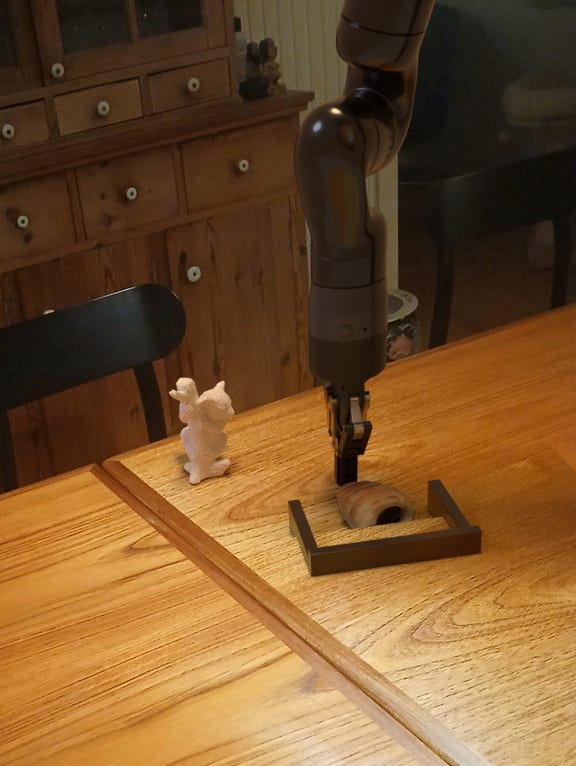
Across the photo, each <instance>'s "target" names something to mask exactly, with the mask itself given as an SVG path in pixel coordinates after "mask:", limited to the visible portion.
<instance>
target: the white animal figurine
mask: <svg viewBox="0 0 576 766" xmlns="http://www.w3.org/2000/svg"><path fill="white" fill-rule="evenodd" d="M225 384H226V383H225V380H222V381H219V382H217V384H216V385H215V386H214V387H213V388H212V389H209V390H208V389H207V390H206V391H204V392H203V393H202V394H201V395H199V393H198V389H197V385H196V381H195V380H193V379H192V378H190V377H180V378H178V380H177V381H176V382H175V386H176V389H177V390H174V389H171V391H169V392H168V394H169V396H171V397H172V398H173V399H174V400H177V401H179V402H180V403H179V414H178V419H179V420H180V421H181V423H183V424H187V426H185V427H184V428H182V430H181V431H180V435H179V437H180V440H181V443H182V445H183V449H184V451H185V452H186V454H187V457H188V458H189V460H190V461H187V462H185V463H184V465H183V468H184V471H186V472H187V473H189V479H188V481H189V484H191V485H197V484H200V482H201V481H202V480H205V479H207V478H208V479H209V478H214V477H221V476H223V475H224V473H225V471H226V470H227V469H228V468H229V467H230V466H231V463H232V462H231V460H230V458H229V457H227V458H223V459H221V460H217V458H218V457H219V456H220V455H221V453H223V452H224V450H225V449H226V447H227V444H228V440H229V439H228V438H229V437H228V435H227V433H225V432H224V430H225V427H226V420H230V419H232V418H233V417H234V416H235V414H236V412H235V410H234V408H233V407H232V400H231V397H230V396H229V394H228V393H227V392H226V391H225V387H226V386H225Z"/></svg>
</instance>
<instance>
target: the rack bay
mask: <svg viewBox="0 0 576 766" xmlns="http://www.w3.org/2000/svg"><path fill="white" fill-rule="evenodd" d="M426 507H427V509H428V511H429V512H430V513H431V515H432V517H433V518H434V519H436V518H441V517H442V518H443V519H444V521H445V523H446V524H447V526H448V527H449V528H447V529H440V530H433V531H425V532H418V533H412V534H405V535H397V536H391V537H390V536H389V537H382V538H376V539H367V540H361V541H355V542H348V543H339V544H334V545H333V544H332V545H326V546H318V544H317V541H316V539H315V536H314V534H313V531H312V529H311V526H310V523H309V520H308V519H307V518H308V517H307V516H306V513H305V511H304V507H303V506H302V503H301V500H300V499H292V500H288V501H287V510H288V527H289V529H290V532H291V534H292V537H293V538H297V540H298V544H299V546H300V548H301V549H300V550H301V551H302V555H303V557H304V560H305V562H306V566H307V568H308V571H309V574H310V577H319V576H327V575H333V574H334V575H335V574H341V573H347V572H348V573H349V572H355V571H356V572H357V571H363V570H368V569H377V568H384V567H391V566H398V565H407V564H414V563H420V562H421V563H422V562H428V561H435V560H443V559H448V558H450V559H451V558H456V557H463V556H464V557H465V556H471V555H478V554H481V552H482V551H481V549H482V538H483V537H482V536H483V530H482V529H481V528H480V526H479V525H478V524H475V525H472V524H471V523H470V522H469V521H468V519H467V517H466V516H465V514H464V513H463V512H462V510H461V508H460V507H459V506H458V504H457V502H456V501H455V500H454V499H453V497H452V496H451V494H450V492H449V491H448V490H447V488H446V487H445V485H444V483H443V482H442V481H441V479H440V478H435V479H429V480H427V495H426Z"/></svg>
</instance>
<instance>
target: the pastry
mask: <svg viewBox="0 0 576 766" xmlns="http://www.w3.org/2000/svg"><path fill="white" fill-rule="evenodd" d="M336 499H337V506H338V508H339V510H340V515H341V518H342V519H343V521H346V523H347V525H348V526H349V528H350V529H352V530H357V529H364V528H371V527H378V526H385V525H386V526H387V525H393V524H401V523H409V522H413V521H415V520H416V516H417V508H416V507H415V506H414V503H413V501H412V500H411V499H410V498H409V497H408V496H407V495H406V494H405V493H404V492H402V491H400V490H399V489H398V488H397V487H396V486H395V485H385V484H382V483H380V482H379V481H370V480H363V481H357V482H350V483H347V484H345V485H343V486H342V487H340V488H339V489H338V491H337V493H336Z"/></svg>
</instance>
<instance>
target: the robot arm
mask: <svg viewBox="0 0 576 766" xmlns="http://www.w3.org/2000/svg"><path fill="white" fill-rule="evenodd" d="M435 2H436V0H343V3H342V7H341V10H340V15H339V18H338V19H339V20H338V22H337V23H338V24H337V29H336V34H335V49H336V53H337V54H338V57H339V58H341V60H342V61H343V62H344V63H346V64H347V71H346V72H347V73H346V79H345V85H344V89H343V91H342V95H341V96H340V97H337V98H334V99H332V100H329V101H326V102H324V103H321V104H319V105H318V106H316V107H314V108H313V109H312V110H311V111H309V113H308V114H307V115H306V116H305V118H304V119H303V121H302V122H301V124H300V127H299V129H298V132H297V135H296V139H295V144H294V151H293V152H294V153H293V166H294V175H295V181H296V186H297V189H298V194H299V198H300V202H301V205H302V206H301V207H302V210H303V215H304V218H305V221H306V225H307V228H308V231H309V235H310V283H309V284H310V286H309V295H308V304H307V305H308V306H307V313H308V314H307V317H308V319H307V321H308V322H307V323H308V327H307V328H308V331H307V332H308V370H309V373H310V374H311V375H312V376H313V377H314V378H316V379H317V380H320V381H322V382H323V385H322V389H323V392H324V393H323V397H324V398H323V399H324V400H325V410H326V423H327V427H328V429H327V432H328V433H327V434H329V437H331V441H330V446H331V447H332V449H333V458H334V459H333V479H334V481H335V483H336V485H337V486H338V487H339V488H342V486H343V485H345V484H347V483H350V482H358V480H359V479H358V474H359V472H358V471H359V456H364V455H365V453H366V451H367V447H368V444H369V441H370V438H371V435H372V430H373V424H372V421H371V420H368V410H369V409H370V407H371V393H370V392H371V391H370V390H366V387H365V383H366V382H368V381H370V380H371V379H372V378H376V377H377V376H378V375H380V374H381V373H383V372H384V370H385V368H386V366H387V353H388V352H387V350H388V324H389V323H388V321H389V292H388V291H389V290H388V281H387V279H388V278H387V274H388V244H389V242H388V239H389V237H388V236H389V233H388V231H389V230H388V222H387V219H386V216H385V215H384V213H383V212H382V211H381V210H379V209H377V208H375V207H372V206H370V204H369V197H368V190H367V189H368V188H367V178H369V177H370V176H372V175H375V174H377V173H379V172H381V171H382V170H384V169H385V168H386V167H388V166H389V165H390V164H391V163H392V162H393V161H394V159H395V158H396V157H397V155H398V154H399V151H400V150H401V147H402V146H403V143H404V141H405V139H406V136H407V133H408V130H409V128H410V124H411V120H412V116H413V109H414V103H415V102H414V101H415V94H416V87H417V81H418V72H419V71H418V68H419V54H420V48H421V46H422V43H423V40H424V37H425V35H426V31H427V28H428V25H429V23H430V19H431V16H432V13H433V10H434V6H435V4H436V3H435Z"/></svg>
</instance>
